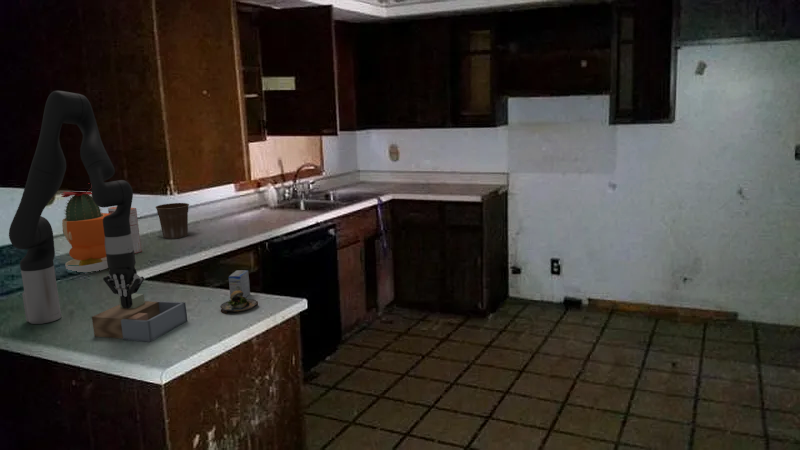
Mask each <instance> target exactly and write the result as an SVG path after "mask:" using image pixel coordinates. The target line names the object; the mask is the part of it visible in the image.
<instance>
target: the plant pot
mask: <svg viewBox="0 0 800 450" xmlns="http://www.w3.org/2000/svg"><path fill="white" fill-rule="evenodd" d="M189 206H190V204H189V203H186V202H174V203H173V202H171V203H164V204H159V205H157V206H155V209H156V212H157V215H158V218H159V222H160V227H161V232H162V237H163V239H168V240H170V239H171V240H172V239H174V240H176V239H180V238H185V237H187V236H189V229H188V227H189V226H188V225H189V221H188V220H189V219H188V218H189V217H188V216H189V215H188V213H189Z"/></svg>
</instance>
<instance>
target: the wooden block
mask: <svg viewBox="0 0 800 450" xmlns="http://www.w3.org/2000/svg"><path fill="white" fill-rule="evenodd" d="M144 301H145V303H144V304H142V305H140V306H138V307H136V308H128V309H126V308H120V303H119V304H117V305H115V306H113V307H110V308H108V309H107V310H104V311H101V312H99V313H98V314H95V315H93V316H91V320H92V328H93V336H94V337H99V338H109V339H112V338H113V339H123V333H122V326H121V320H122V319H128V318H129V317H131V316H134V315H136V314H138V313H148V320H149V319H151V318H153V317H155V316H157V315H159V314H160V310H159V301H147V300H144Z"/></svg>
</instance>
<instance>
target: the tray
mask: <svg viewBox="0 0 800 450" xmlns="http://www.w3.org/2000/svg"><path fill="white" fill-rule="evenodd" d="M158 302H159V310H160V314H159V315H157V316H155V317H153V318H151V319H149V320H147V321H145V320H131V319H122V320H121V326H122V333H123V341H130V342H131V341H132V342H143V343H146V342H147V343H151V342H152V341H154V340H156V339H158V338H160V337H161V336H163V335H165V334H167V333H169V332H170V331H172V330H174V329H176V328H177V327H179V326H181V325H183V324H184V323H185V324H186V322H188V314H187V313H188V312H187V305H186V302H185V301H168V300H166V301H164V300H160V301H158Z"/></svg>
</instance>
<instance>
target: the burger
mask: <svg viewBox="0 0 800 450" xmlns="http://www.w3.org/2000/svg"><path fill="white" fill-rule="evenodd" d="M234 290H235V289H234ZM242 295H243V292H242V291H234V292H233V293H232V294H231V296H230V295H229V300H228V301H225V302H223V303H221V305H220V313H221V314H225V315H227V314H228V312H237V313H238V312H242V311H246V310H250V309H252V308H254V307H255V306H258V305H259V302H258V300H255V299H251V298H247V297H246V298H245V297H242Z"/></svg>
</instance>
